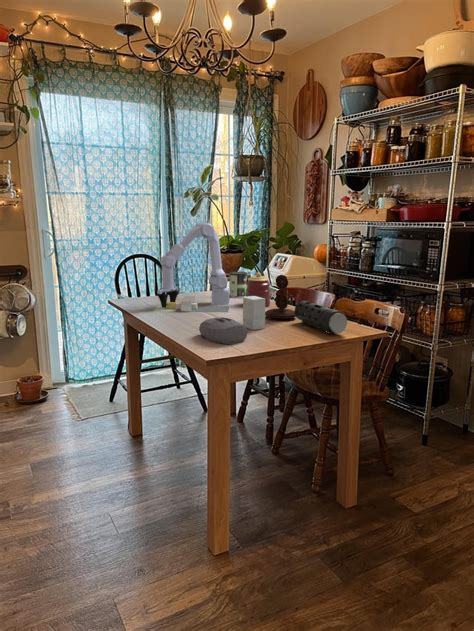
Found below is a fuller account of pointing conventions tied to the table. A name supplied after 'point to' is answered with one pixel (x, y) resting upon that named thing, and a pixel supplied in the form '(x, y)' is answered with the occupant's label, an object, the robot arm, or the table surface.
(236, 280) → the coffee can
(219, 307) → the mat
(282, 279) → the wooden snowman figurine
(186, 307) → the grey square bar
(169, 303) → the plug
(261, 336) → the table surface
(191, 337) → the table surface
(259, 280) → the canister
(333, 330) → the muzzle brake
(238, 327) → the soft grey pack
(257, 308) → the small box
